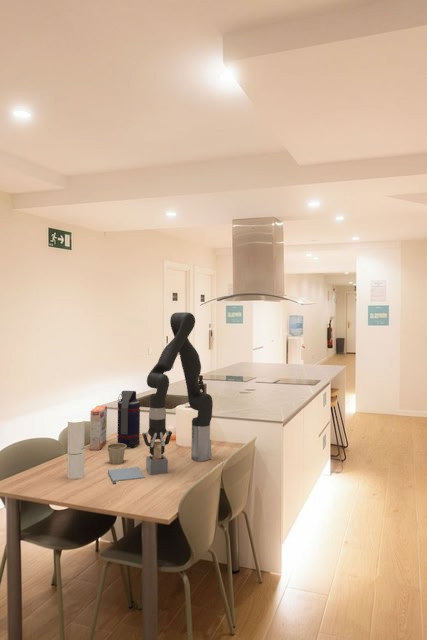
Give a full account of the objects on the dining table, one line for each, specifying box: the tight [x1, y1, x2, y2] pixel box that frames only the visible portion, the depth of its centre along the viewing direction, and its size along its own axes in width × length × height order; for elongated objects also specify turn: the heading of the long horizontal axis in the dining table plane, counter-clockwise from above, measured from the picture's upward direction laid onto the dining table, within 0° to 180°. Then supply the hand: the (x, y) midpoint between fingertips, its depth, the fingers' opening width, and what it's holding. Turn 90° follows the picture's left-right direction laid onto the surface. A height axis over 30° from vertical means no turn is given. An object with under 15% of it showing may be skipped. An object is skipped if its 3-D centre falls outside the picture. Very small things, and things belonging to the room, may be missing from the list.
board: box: [107, 466, 146, 485], centre depth 212 cm, size 14×14×2 cm
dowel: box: [152, 440, 162, 460], centre depth 217 cm, size 4×4×13 cm
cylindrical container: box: [66, 418, 85, 480], centre depth 212 cm, size 7×7×25 cm
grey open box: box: [145, 454, 169, 476], centre depth 218 cm, size 8×8×7 cm
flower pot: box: [106, 442, 127, 465], centre depth 230 cm, size 9×9×9 cm
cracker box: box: [89, 405, 108, 451], centre depth 257 cm, size 14×6×21 cm, turn 179°
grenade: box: [117, 390, 141, 449], centre depth 259 cm, size 14×12×30 cm
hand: (156, 454), depth 217 cm, fingers closed on dowel, 4 cm apart
